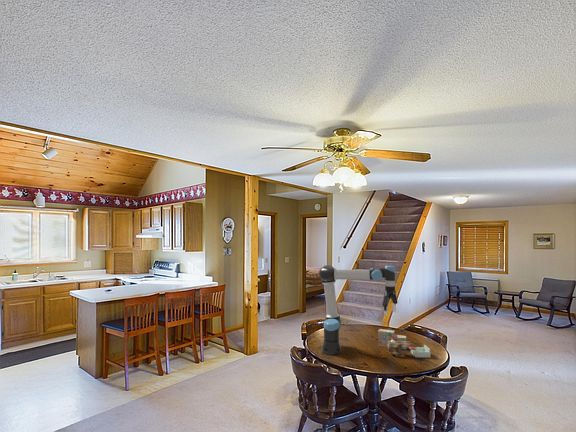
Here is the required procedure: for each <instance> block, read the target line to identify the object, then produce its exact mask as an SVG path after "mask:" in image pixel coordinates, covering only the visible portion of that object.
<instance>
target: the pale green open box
mask: <svg viewBox="0 0 576 432" xmlns="http://www.w3.org/2000/svg"><path fill="white" fill-rule="evenodd" d="M414 347H415V346H414ZM415 348H416V350H410V354H411V355H412V356H413V357H415V358H419V359H420V358H423V359H424V358H429V359H430V358H431V348H429V347H428V346H427V345H426V344H423V347H418V346H417V347H415Z"/></svg>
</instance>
